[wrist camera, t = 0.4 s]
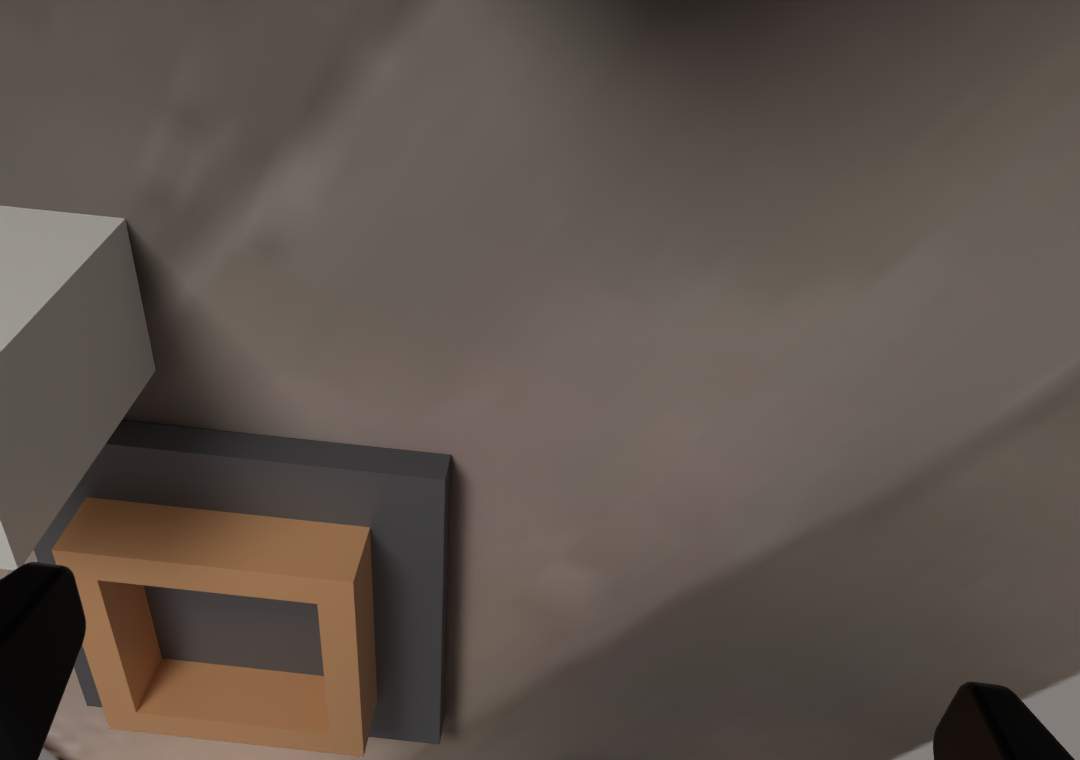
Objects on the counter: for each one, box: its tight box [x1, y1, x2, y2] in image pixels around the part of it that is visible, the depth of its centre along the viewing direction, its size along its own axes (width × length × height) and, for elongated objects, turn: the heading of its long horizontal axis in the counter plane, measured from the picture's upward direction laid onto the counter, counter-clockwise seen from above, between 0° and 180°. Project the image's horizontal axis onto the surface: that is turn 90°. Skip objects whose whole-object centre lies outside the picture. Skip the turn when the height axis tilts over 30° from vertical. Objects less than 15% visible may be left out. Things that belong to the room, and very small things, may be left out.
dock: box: [34, 421, 451, 757], centre depth 28 cm, size 12×12×3 cm
